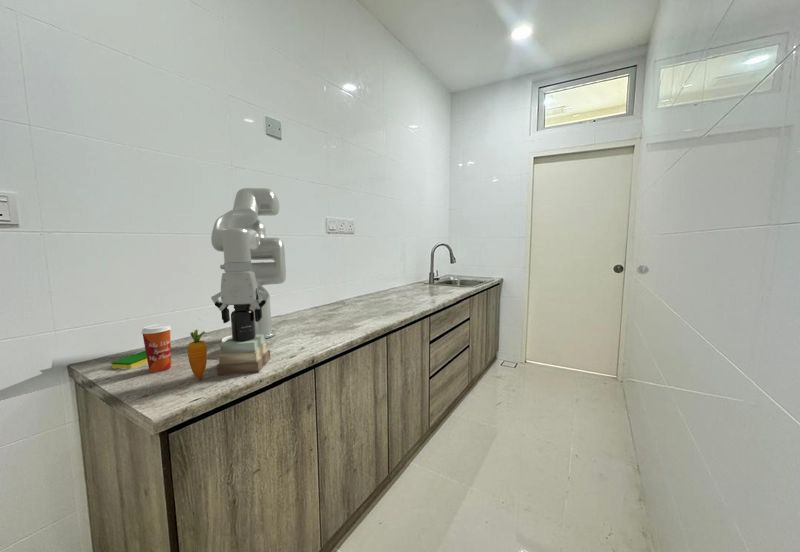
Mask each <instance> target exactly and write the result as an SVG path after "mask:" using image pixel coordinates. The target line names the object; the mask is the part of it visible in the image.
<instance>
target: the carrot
mask: <svg viewBox="0 0 800 552" xmlns="http://www.w3.org/2000/svg"><path fill="white" fill-rule="evenodd" d="M198 333H199V330H198V329H195V330H194V332H193V331H192V332H190V336H191V338H192V339H193V341H191V342H190V343H188V344H187V347H186V348H187V349H186V350H187V357H188V362H189V365H190V368H191V372H192V373H193V375H194V376H195V378H196V379H197V380H200V381H201V380H202V378H204V375H205V372H206V368H207V362H208V348H207V345H208V344H207V343H206V341H205V340H201V338H202V336H204V334H206V331H202V332H201V333H200V334H198Z"/></svg>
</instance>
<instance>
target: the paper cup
mask: <svg viewBox="0 0 800 552" xmlns="http://www.w3.org/2000/svg"><path fill="white" fill-rule="evenodd" d="M171 329H172V327H171V325H170V324H169V323H156V324H150V325H147V326H146V325H145V326H144V327H142V330H141V332H140V333H141V334H142V338H143V343H144V351H146V356H147V361H148V362H147V366H148V371H149V372H150V373H159V372H164V371H168V370H169V369H171V367H172V351H171V350H172V347H171V346H172V345H171V341H172V340H171Z"/></svg>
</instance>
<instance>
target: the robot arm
mask: <svg viewBox="0 0 800 552" xmlns="http://www.w3.org/2000/svg"><path fill="white" fill-rule="evenodd" d="M233 202H234V203H233V207H232V209H231V210H229V211H227V212H225V213H224V214H222V215H221V216H219V217H218V218H217V219H216V220H215V222H214V224H213V228H212V231H211V236H210V237H211V238H210V239H211V240H210V241H211V242H210V243H211V246H212V247H213V249H214V250H215V251H218V252H223V261H224V262H223V264H220V265H219V266H220V267H219V268H220V269H221V270H224V272H223V273H221V279H220V280H221V281H220V292H218V293H215V294H214V295H212V296H211V301H212V302H213V303H214V305H215V306H216V308H218V310H219V311H221V313H220V314H221V320H222V322H223V324H227V323H228V322H231V315H230V309H229V308H228V307H229V306H234V305H245V304H251V307H250V309H252V310H253V311H254V314H255V332H256V334H265V340H266V339H269V338H272V337H274V336H276V334H277V332H276V330H274V329H272V328H273V327H272V312H271V297H270V293H269V292H268V290H267V289H266V288H265V287H264V286H268V285H281V284H284V283H285V282H286V278H287V273H286V272H287V270H286V251H285V243H284V241H283V240H282V239H281V238H279V237H266V236H267V235H266V234H267V233H266V227H265V225H264V223H263V222H262V221H261V220H260V219H259V218H258V217H259V216H263V217H265V216H267V217H268V216H277V215H278V214H279V211H280V202H279V199H278V197H277V194H276V193H275V191H273V189H269V188H265V187H264V188H261V187H257V188H255V187H253V188H252V187H244V188H240V189H239V190H238V191H237V192H236V194H235V197H234V201H233ZM265 260H266V261H267V262H266V261H265ZM269 260H273V261H271V262H270V261H269ZM252 261H257V262H252ZM258 261H260V262H258ZM264 261H265V262H264ZM219 298H220V300H219Z"/></svg>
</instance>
